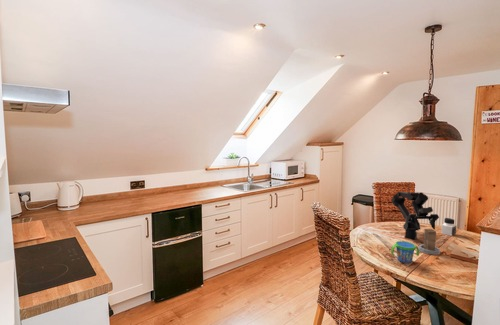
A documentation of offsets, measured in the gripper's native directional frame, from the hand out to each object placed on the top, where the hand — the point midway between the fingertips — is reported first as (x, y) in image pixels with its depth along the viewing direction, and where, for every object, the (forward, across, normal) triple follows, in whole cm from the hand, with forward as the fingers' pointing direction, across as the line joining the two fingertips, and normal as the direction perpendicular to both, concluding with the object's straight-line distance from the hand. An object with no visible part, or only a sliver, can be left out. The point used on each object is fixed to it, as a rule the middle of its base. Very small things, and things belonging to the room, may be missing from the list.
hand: (427, 229), depth 181 cm
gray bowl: (+12, 0, +7) cm, 14 cm away
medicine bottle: (-10, +32, +29) cm, 45 cm away
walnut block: (+11, 0, +6) cm, 13 cm away
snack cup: (+22, -23, -3) cm, 32 cm away
